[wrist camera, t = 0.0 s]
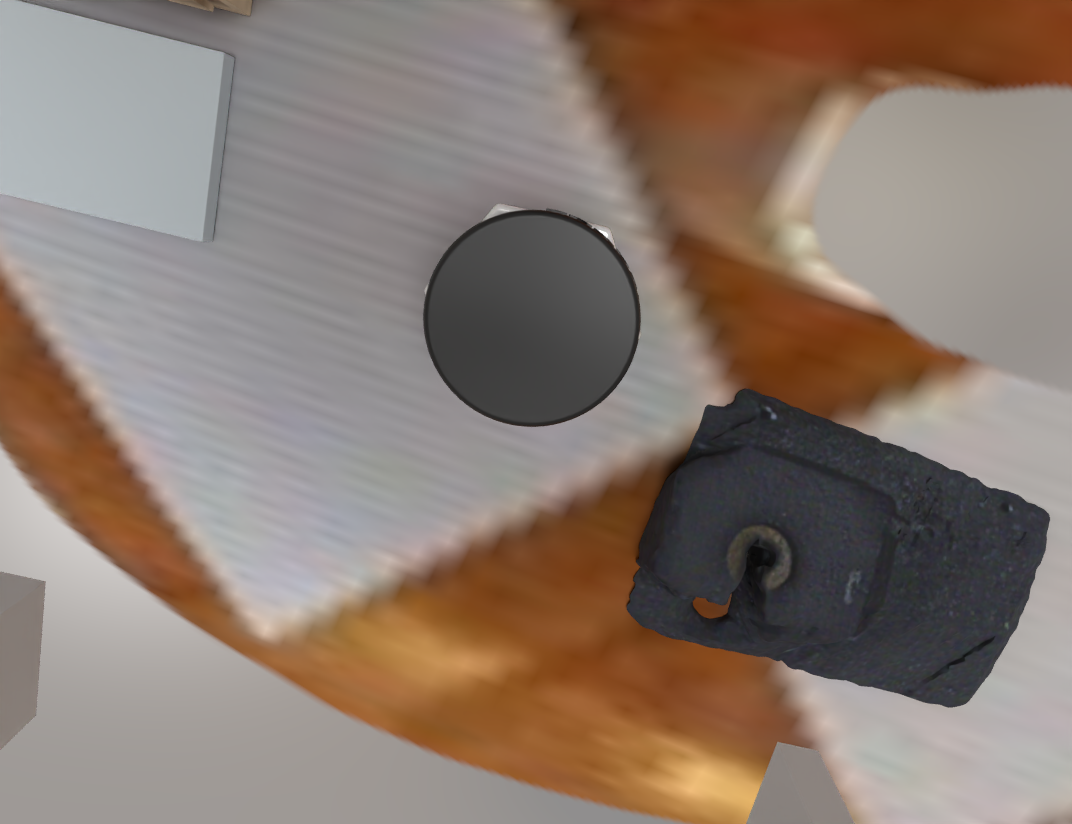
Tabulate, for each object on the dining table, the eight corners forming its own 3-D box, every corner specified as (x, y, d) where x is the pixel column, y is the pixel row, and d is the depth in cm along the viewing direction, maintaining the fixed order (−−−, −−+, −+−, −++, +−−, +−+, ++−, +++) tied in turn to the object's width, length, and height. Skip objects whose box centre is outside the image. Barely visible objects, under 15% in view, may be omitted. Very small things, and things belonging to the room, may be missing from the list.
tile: (-54, -15, 36) (-74, -23, 34) (234, 57, 36) (224, 52, 35) (-59, 175, 38) (-78, 174, 37) (212, 241, 38) (202, 242, 37)
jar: (636, 346, 40) (671, 402, 28) (491, 391, 40) (468, 464, 29) (587, 179, 37) (603, 165, 26) (435, 231, 38) (386, 239, 27)
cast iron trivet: (933, 720, 46) (976, 776, 41) (603, 604, 44) (609, 649, 40) (1065, 504, 42) (1128, 540, 37) (708, 369, 40) (728, 389, 36)
